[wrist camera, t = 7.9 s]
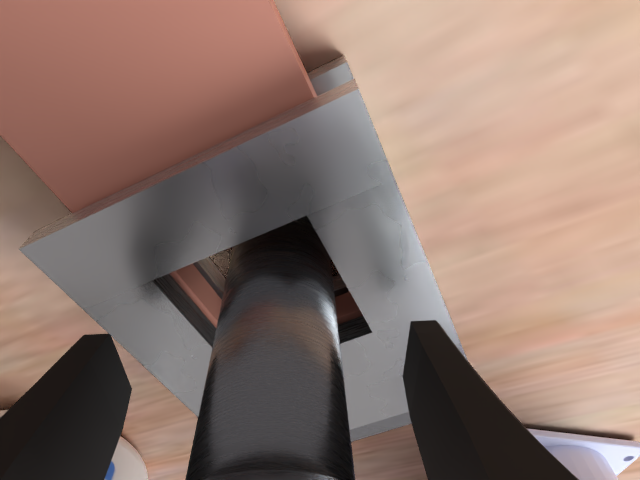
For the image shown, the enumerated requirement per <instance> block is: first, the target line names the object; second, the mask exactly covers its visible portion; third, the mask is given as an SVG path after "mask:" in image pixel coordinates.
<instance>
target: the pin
mask: <svg viewBox="0 0 640 480" xmlns="http://www.w3.org/2000/svg"><path fill="white" fill-rule="evenodd" d="M186 480H355V474H354V465H353V456H352V447H351V438H350V429H349V420H348V411H347V402H346V393H345V384H344V375H343V366H342V357H341V348H340V339H339V330H338V321H337V312H336V303H335V294H334V285H333V276H332V267H331V258H330V256H329V254H328V252H327V250H326V249H325V247H324V245H323V243H322V241H321V240H320V238H319V236H318V234H317V233H316V231H315V229H314V227H313V225H312V224H311V222H310V220H309V218H308V217H307V215H306V216H304V217H302V218H299V219H297V220H295V221H292V222H290V223H287V224H285V225H283V226H280V227H278V228H276V229H273V230H271V231H268V232H266V233H264V234H261V235H259V236H257V237H254V238H252V239H249V240H247V241H245V242H242V243H240V244H238V245H235V246H233V249H232V254H231V259H230V264H229V268H228V273H227V278H226V283H225V288H224V293H223V298H222V303H221V308H220V313H219V318H218V323H217V328H216V332H215V337H214V342H213V347H212V352H211V357H210V362H209V367H208V372H207V377H206V382H205V387H204V391H203V396H202V401H201V406H200V411H199V416H198V421H197V426H196V431H195V436H194V441H193V446H192V451H191V455H190V460H189V465H188V470H187V475H186Z"/></svg>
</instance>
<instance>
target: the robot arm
mask: <svg viewBox="0 0 640 480" xmlns="http://www.w3.org/2000/svg"><path fill="white" fill-rule="evenodd" d="M403 381H404V387H405V393H406V399H407V404H408V410H409V415H410V419H411V423H412V426H413V430H414V433H415V436H416V440H417V443H418V447H419V450H420V454H421V457H422V460H423V464H424V467H425V470H426V474H427V477H428V480H619V479H618V478H617V475H618V474H619V473H620V472H622V471H623V470H624V469H625V468H626V467H628V466H629V465H630V464H631V463H632V462H633V461H635V460H636V459H637V458H638V457H639V456H640V443H639V442H637V441H630V440H621V439H613V438H604V437H596V436H587V435H578V434H570V433H561V432H553V431H544V430H536V429H527V428H526V427H525V426H524V425H523V424H522V423H521V422H520V421H519V420H518V419H517V418H516V417H515V416H514V415H513V414H512V413H511V411H510V410H509V409H508V408H507V407H506V406H505V405H504V404H503V403H502V401H501V400H500V399H499V398H498V397H497V396H496V394H495V393H494V392H493V391H492V390H491V389H490V387H489V386H488V385H487V384H486V383H485V382H484V380H483V379H482V378H481V377H480V376H479V374H478V373H477V372H476V371H475V370H474V368H473V367H472V366H471V365H470V363H469V362H468V361H467V359H466V358H465V357H464V356H463V354H462V353H461V352H460V351H459V349H458V348H457V347H456V345H455V344H454V343H453V341H452V340H451V339H450V337H449V336H448V335H447V333H446V332H445V331H444V329H443V328H442V327H441V325H440V324H439V323H438V322H437V321H436V320H427V321H411V323H410V329H409V336H408V343H407V350H406V357H405V364H404V371H403ZM131 391H132V388H131V385H130V383H129V380H128V378H127V375H126V373H125V370H124V368H123V365H122V363H121V360H120V358H119V355H118V353H117V350H116V348H115V345H114V343H113V340H112V337H111V335H110V334H94V335H84V336H83V337H81V338H80V339H79V340H78V341H77V342H76V343H75V344H74V345H73V346H72V347H71V348H70V349H69V350H68V351H67V352H66V353H65V354H64V355H63V356H62V357H61V358H60V359H59V360H58V361H57V362H56V363H55V364H54V365H53V366H52V367H51V368H50V369H49V370H48V371H47V372H46V373H45V374H44V375H43V376H42V377H41V378H40V379H39V380H38V381H37V382H36V383H35V384H34V385H33V386H32V387H31V388H30V389H29V390H28V391H27V392H26V393H25V394H24V395H23V396H22V397H21V398H20V399H19V400H18V401H17V402H16V403H15V404H14V405H13V406H12V407H11V408H10V409H9V410H8V411H7V412H6V413H5V414H4V415H3V416H2V417H0V480H104V479H105V476H106V474H107V471H108V468H109V466H110V463H111V460H112V457H113V455H114V452H115V449H116V446H117V444H118V441H119V438H120V435H121V432H122V429H123V425H124V421H125V417H126V413H127V409H128V404H129V400H130V395H131Z"/></svg>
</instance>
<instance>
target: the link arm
mask: <svg viewBox="0 0 640 480" xmlns="http://www.w3.org/2000/svg"><path fill="white" fill-rule="evenodd" d="M315 97H317V94H316V92H315V90H314V88H313V86H312V83H311V81H310V79H309V77H308V75H307V73H306V70H305V68H304V66H303V64H302V62H301V60H300V57H299V55H298V53H297V51H296V49H295V46H294V44H293V42H292V40H291V38H290V36H289V33H288V31H287V29H286V27H285V25H284V23H283V20H282V18H281V16H280V14H279V12H278V10H277V7H276V5H275V3H274V1H273V0H0V136H1V137H2V138H3V139H4V140H5V141H6V142H7V143H8V144H9V145H10V146H11V147H12V149H13V150H14V151H15V152H16V153H17V154H18V155H19V156H20V157H21V158H22V159H23V160H24V161H25V163H26V164H27V165H28V166H29V167H30V168H31V169H32V170H33V171H34V172H35V173H36V174H37V176H38V177H39V178H40V179H41V180H42V181H43V182H44V183H45V184H46V185H47V186H48V187H49V189H50V190H51V191H52V192H53V193H54V194H55V195H56V196H57V197H58V198H59V199H60V200H61V201H62V203H63V204H64V205H65V206H66V207H67V208H68V209H69V210H70V211H71V212H72V213H74V212H76V211H79V210H81V209H83V208H85V207H87V206H89V205H91V204H93V203H95V202H97V201H99V200H102V199H104V198H106V197H108V196H110V195H112V194H114V193H116V192H118V191H120V190H122V189H125V188H127V187H129V186H131V185H133V184H135V183H137V182H139V181H141V180H143V179H145V178H147V177H150V176H152V175H154V174H156V173H158V172H160V171H162V170H164V169H166V168H168V167H170V166H173V165H175V164H177V163H179V162H181V161H183V160H185V159H187V158H189V157H191V156H193V155H196V154H198V153H200V152H202V151H204V150H206V149H208V148H210V147H212V146H214V145H216V144H219V143H221V142H223V141H225V140H227V139H229V138H231V137H233V136H235V135H237V134H239V133H242V132H244V131H246V130H248V129H250V128H252V127H254V126H256V125H258V124H260V123H262V122H265V121H267V120H269V119H271V118H273V117H275V116H277V115H279V114H281V113H283V112H285V111H288V110H290V109H292V108H294V107H296V106H298V105H300V104H302V103H304V102H306V101H308V100H310V99H313V98H315ZM169 274H170V275H171V276H172V277H173V278H174V279H175V281H176V282H177V283H178V284H179V285H180V286H181V288H182V289H183V290H184V291H185V292H186V294H187V295H188V296H189V297H190V298H191V299H192V301H193V302H194V303H195V304H196V305H197V306H198V308H199V309H200V310H201V311H202V312H203V313H204V315H205V316H206V317H207V318H208V319H209V320H210V322H211V323H212V324H213V325H214V326H215V327H216V328H217V323H218V318H219V313H220V308H221V303H222V300H221V298H220V297H219V296H218V295H217V293H216V292H215V291H214V290H213V288H212V287H211V286H210V285H209V283H208V282H207V281H206V280H205V278H204V277H203V276H202V275H201V273H200V272H199V271H198V270H197V268H196V267H195V266H194V265H193V263H192V264H190V265H188V266H185V267H183V268H181V269H178V270H176V271H173V272H171V273H169ZM335 303H336V312H337V321H338V324H341V323H344V322H347V321H350V320H352V319H355V318H358V317H361V316H363V314H362V313H361V311H360V309H359V307H358V306H357V304H356V302H355V300H354V298H353V297H352V295H351V293H350V292H347V293H344V294H342V295H339V296H336V297H335Z"/></svg>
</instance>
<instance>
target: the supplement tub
mask: <svg viewBox="0 0 640 480" xmlns="http://www.w3.org/2000/svg"><path fill="white" fill-rule="evenodd" d="M7 411H8V410H0V417H2V416H3V415H4V414H5V413H6V412H7ZM104 480H148V474H147V469H146V466H145V463H144V461H143V459H142V457H141V456H140V454H139V453H138V451H137V450H136V449H135V448H134V447H133V446H132V445H131V444H130V443H129V442H128V441H127V440H125V439H124V438H122V437H121V436H120V438H119V441H118V444H117V446H116V449H115V452H114V455H113V457H112V460H111V463H110V466H109V468H108V471H107V474H106V476H105V479H104Z"/></svg>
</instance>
